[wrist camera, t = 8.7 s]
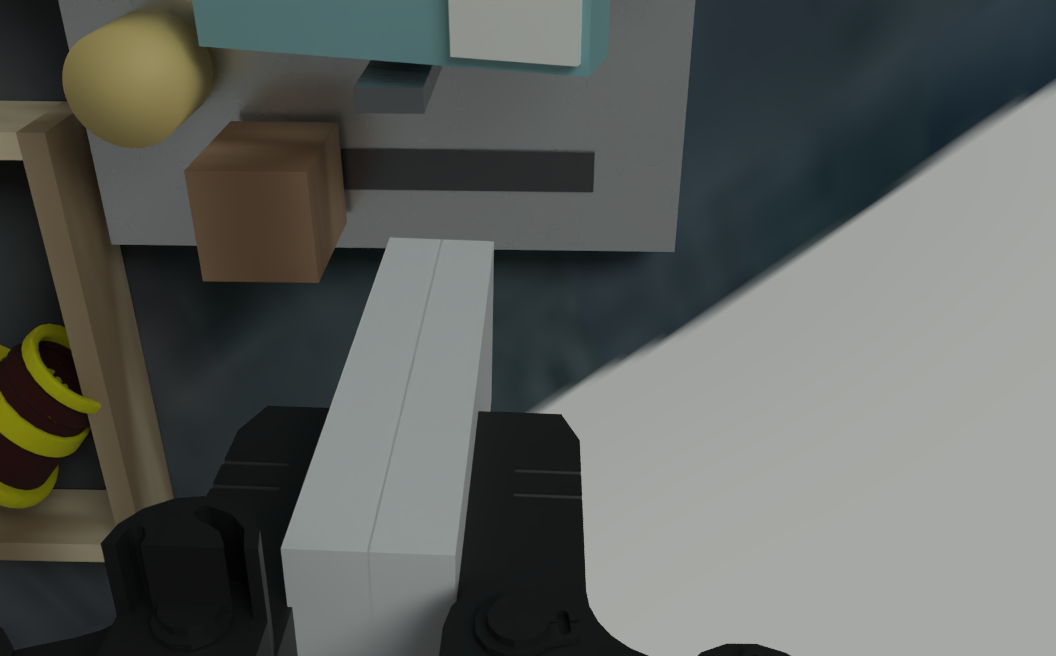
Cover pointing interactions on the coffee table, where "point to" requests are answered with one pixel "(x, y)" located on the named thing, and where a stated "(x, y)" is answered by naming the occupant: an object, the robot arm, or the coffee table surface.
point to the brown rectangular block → (268, 201)
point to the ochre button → (137, 78)
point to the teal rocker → (418, 31)
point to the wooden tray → (84, 343)
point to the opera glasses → (38, 414)
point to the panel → (440, 140)
